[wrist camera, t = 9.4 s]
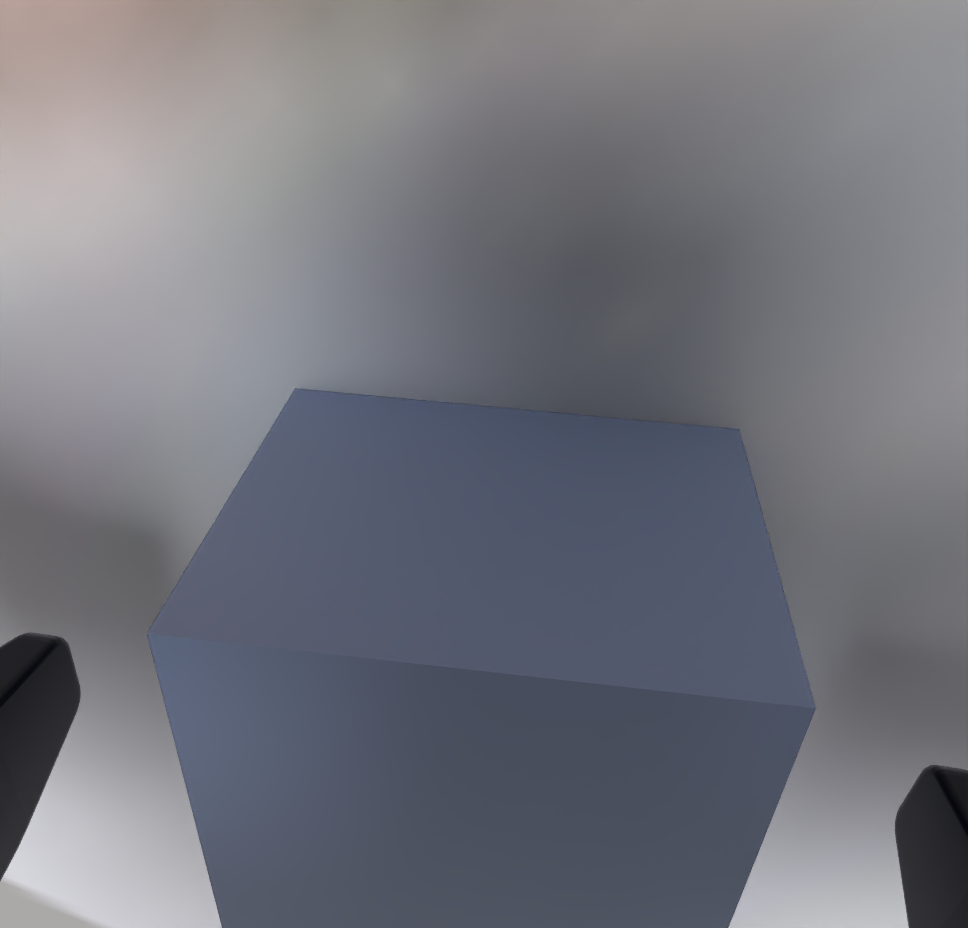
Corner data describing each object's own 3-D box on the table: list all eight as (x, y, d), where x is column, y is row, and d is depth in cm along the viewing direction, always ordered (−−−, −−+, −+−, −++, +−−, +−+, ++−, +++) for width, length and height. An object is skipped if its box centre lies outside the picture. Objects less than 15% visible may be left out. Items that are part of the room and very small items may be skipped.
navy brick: (737, 422, 9) (816, 709, 6) (664, 717, 12) (691, 1021, 9) (298, 383, 10) (146, 633, 6) (326, 679, 13) (230, 958, 9)
